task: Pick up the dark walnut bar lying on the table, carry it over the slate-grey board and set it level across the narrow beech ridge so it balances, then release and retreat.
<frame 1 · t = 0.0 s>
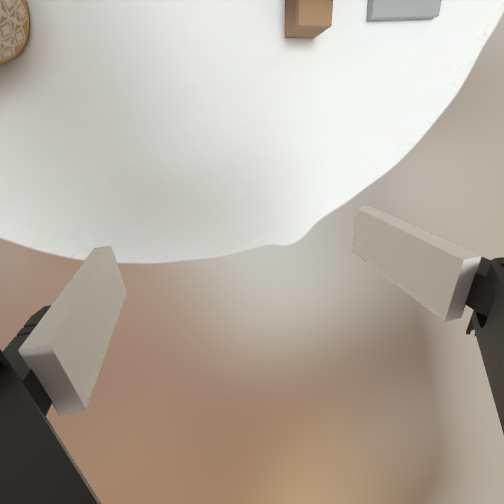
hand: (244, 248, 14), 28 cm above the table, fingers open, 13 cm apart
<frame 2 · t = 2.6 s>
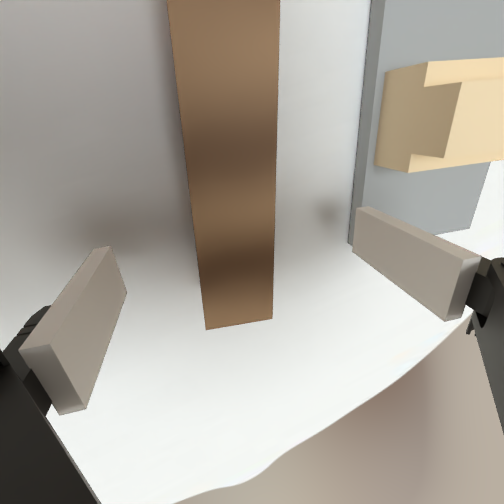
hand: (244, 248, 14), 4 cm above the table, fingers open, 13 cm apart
fulcrum: (427, 115, 18), on the table
bar: (218, 135, 16), on the table
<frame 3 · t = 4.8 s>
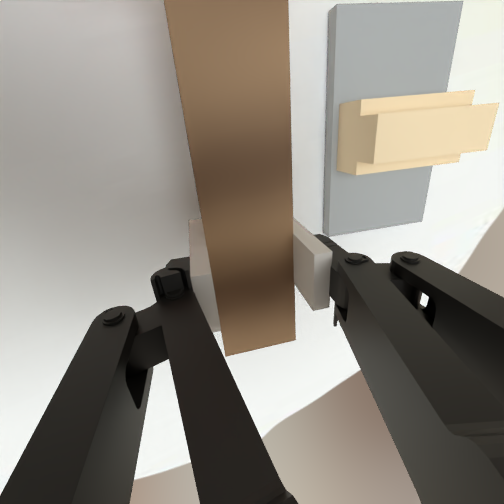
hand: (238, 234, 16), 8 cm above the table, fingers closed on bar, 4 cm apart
fulcrum: (378, 133, 24), on the table
bar: (226, 150, 15), point 7 cm above the table, touching gripper
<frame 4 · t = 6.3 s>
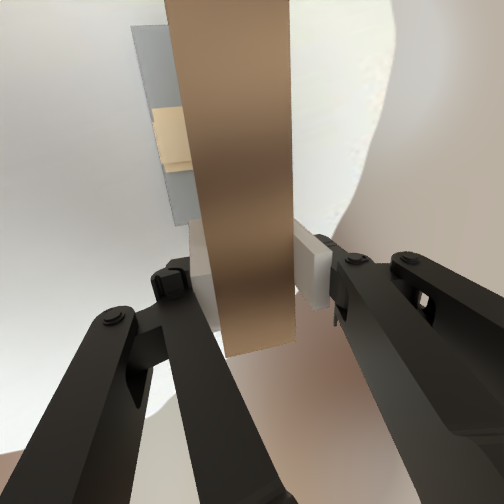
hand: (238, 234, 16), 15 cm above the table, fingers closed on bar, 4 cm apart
fulcrum: (208, 135, 27), on the table
bar: (226, 151, 15), point 14 cm above the table, touching gripper
when the fingers open (5 cm above the table, at t = 8.3 s): bar stays where it is, resting on fulcrum.
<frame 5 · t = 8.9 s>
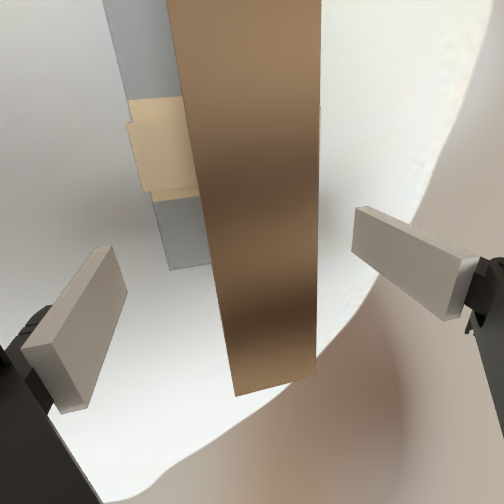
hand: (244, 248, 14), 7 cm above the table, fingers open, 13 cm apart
fulcrum: (218, 142, 18), on the table
bar: (235, 157, 13), point 6 cm above the table, touching fulcrum
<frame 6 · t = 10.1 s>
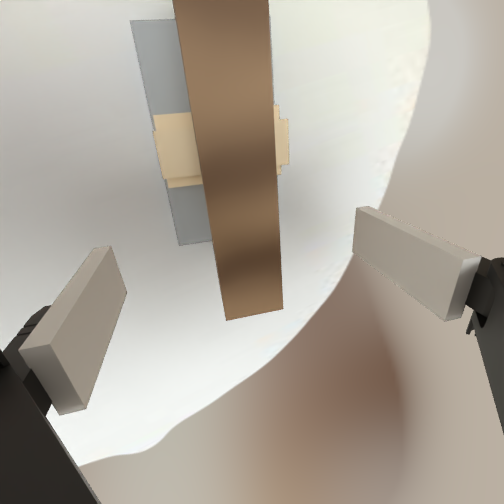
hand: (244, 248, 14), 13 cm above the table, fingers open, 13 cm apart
fulcrum: (217, 144, 24), on the table
bar: (227, 154, 19), point 6 cm above the table, touching fulcrum
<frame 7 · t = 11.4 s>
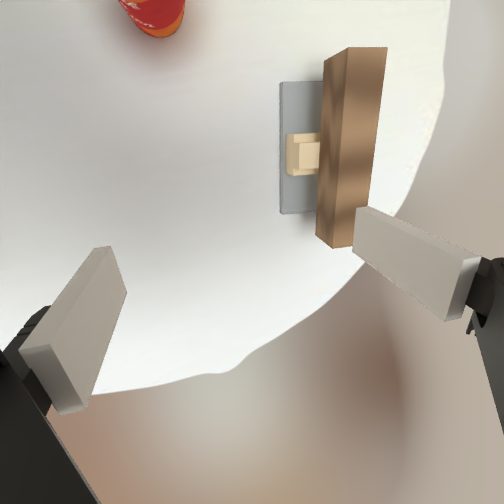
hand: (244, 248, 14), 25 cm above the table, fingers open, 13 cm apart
fulcrum: (313, 151, 39), on the table
bar: (334, 157, 33), point 6 cm above the table, touching fulcrum
coffee cup: (155, 5, 29), on the table
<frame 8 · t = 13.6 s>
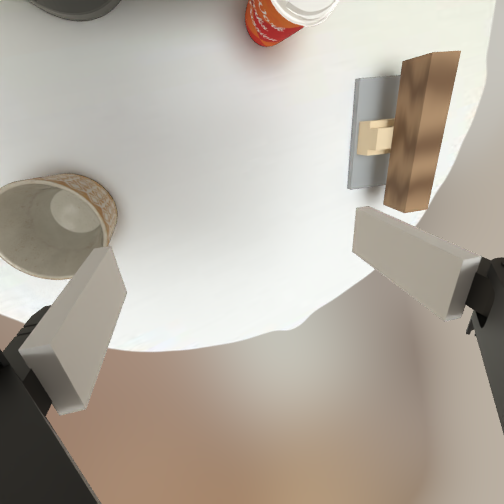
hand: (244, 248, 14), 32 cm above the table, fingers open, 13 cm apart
fulcrum: (377, 135, 46), on the table
planter: (79, 209, 41), on the table
bar: (403, 139, 41), point 6 cm above the table, touching fulcrum
coffee cup: (266, 21, 36), on the table
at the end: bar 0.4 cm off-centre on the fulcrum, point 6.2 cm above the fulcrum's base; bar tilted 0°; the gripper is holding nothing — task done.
